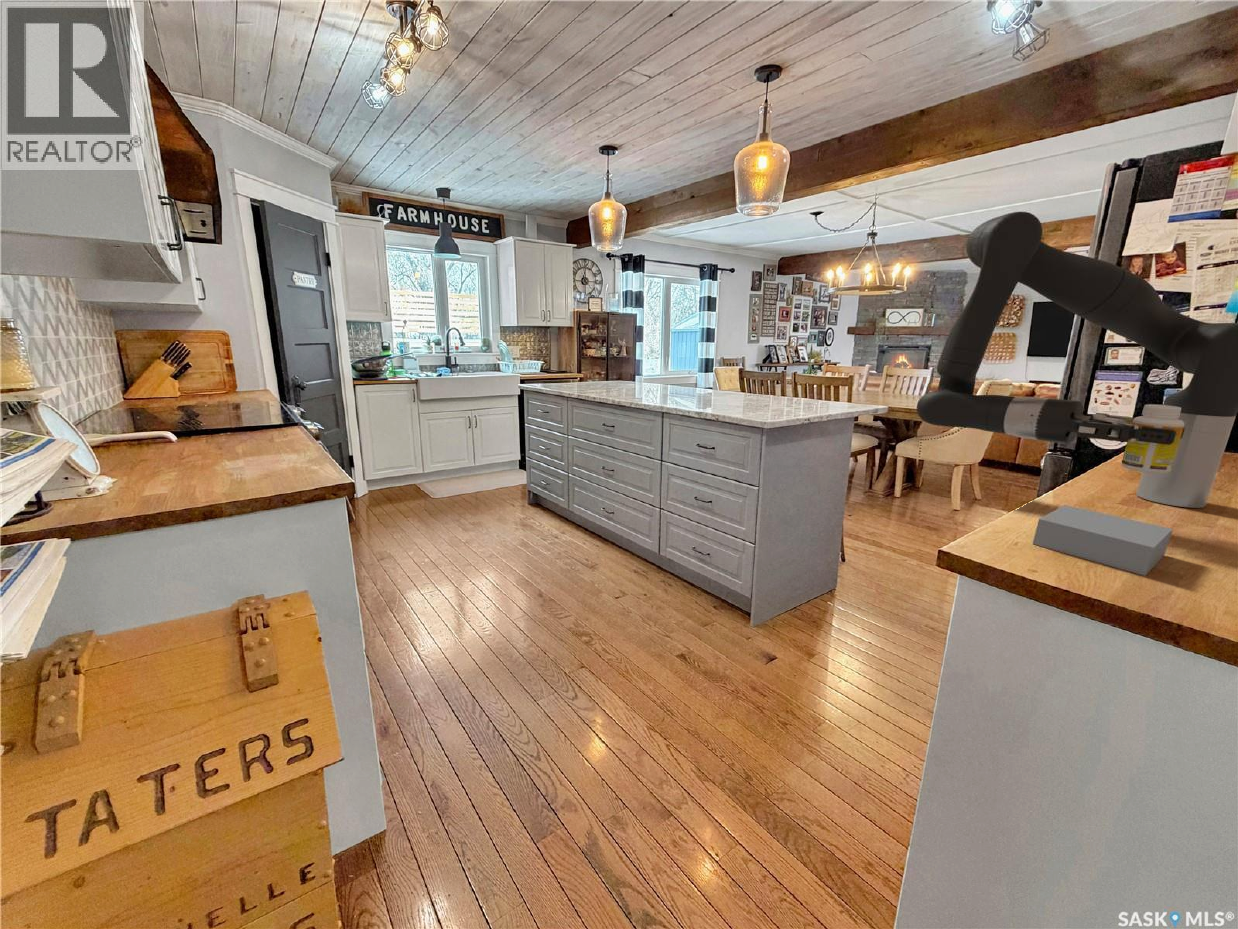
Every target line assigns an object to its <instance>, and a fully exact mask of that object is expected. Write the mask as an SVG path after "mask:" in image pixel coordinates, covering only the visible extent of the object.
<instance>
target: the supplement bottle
mask: <svg viewBox="0 0 1238 929" xmlns="http://www.w3.org/2000/svg"><path fill="white" fill-rule="evenodd" d="M1180 412H1181V408H1180V407H1176V406H1168V405H1163V404H1153V403H1151V404H1148V403H1147V404H1144V406H1143V409H1142V413H1141V416H1136V417H1133V418H1134V419H1133V422H1132V424H1137V425H1139V426H1141V427H1140V429H1141V428H1142V426H1144V427H1153V428H1162V429H1170V430H1175V431H1176V432H1177V434H1176V437H1175V440H1174V443H1172V444H1170V445H1166V444H1159V443H1151V442H1143V441H1138V439H1137V441H1133V442H1129V441H1128V442H1126V446H1125V449H1124V452H1123V456H1122V459H1121V466H1122V467H1123V468H1125V469H1127V470H1129V471H1134V472H1135V471H1136V472H1139V473H1143V472H1146V473H1157V474H1162V473H1168V472H1169V471H1170V470H1171V468H1172V464H1173V461H1174V458H1175V455H1176V451H1177V448H1178V445H1179V441H1180V438H1181V435H1182V431H1183V428H1184V422H1183V421H1181V420H1178V419H1177V418H1179V415H1180Z"/></svg>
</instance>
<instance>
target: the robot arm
mask: <svg viewBox="0 0 1238 929" xmlns="http://www.w3.org/2000/svg"><path fill="white" fill-rule="evenodd" d="M1042 239H1043V226H1042V223H1041V221H1040V219H1039V217H1037V216H1036V215H1034V214H1032V213H1030V212H1027V211H1014V212H1008V213H1005V214H1002V215H1000V216H997V217H993V218H991V219H989V220H986V221H984V222H982V223H981V224H980V225H978V226H976V227H975V228H974V230H972V231H971V233H970V234H969V235H968V238H967V240H966V246H965V248H966V249H965V250H966V254H967V257H968V258H969V261H971V262H970V263H972V264H973V265H975V266H976V267H977V268H979V269H980V270H979V275H978V277H977V278H978V279H977V281H976V283H975V285H974V289H973V291H972V293H971V295H970V297H969V299H968V301H967V303H966V304H965V306H964V308H963V309H962V311H960V312H961V313H960V314H959V315H958V317H957V319H956V320H955V322H954V323H953V326H952V327H951V329H950V331H949V333H948V335H947V338H946V340H945V343H944V345H943V349H942V350H941V354H940V356H939V359H938V362H937V367H936V372H937V374H938V375H939V376H940V378H939V382H938V387H937V389H936V390H932V391H929V392H926V393H925V394H923V395H922V396H921V397H920V399H919V400H918V401H917V404H916V413H917V415H918V417H919V418H920V419H921V420H922V421H923V422H924V423H927V424H929V425H932V426H938V427H939V426H941V427H948V428H949V427H951V428H961V429H962V428H963V429H965V428H966V429H973V430H974V429H975V430H981V431H985V432H991V433H997V434H1004V435H1008V436H1009V435H1010V436H1013V437H1018V438H1021V439H1022V438H1023V439H1030V440H1034V441H1035V440H1037V441H1041V442H1049V443H1055V444H1063V445H1069V444H1071V443H1073V441H1074V440H1075V439H1076V438H1078V437H1079V438H1081V439H1082V438H1087V439H1093V440H1095V439H1096V440H1104V441H1111V442H1120V443H1127V442H1128V441H1129V442H1133V441H1137V439H1138V441H1143V442H1151V443H1159V444H1166V445H1170V444H1172V443H1174V440H1175V437H1176V434H1177V432H1176V431H1175V430H1170V429H1162V428H1153V427H1144V426H1142V428H1141V429H1140V427H1141V426H1139V425H1137V424H1132V422H1133V419H1134V418H1135V417H1131V416H1126V415H1115V414H1114V415H1113V414H1109V413H1105V412H1103V413H1102V412H1095V413H1091V414H1090V415H1085V414H1084V405H1083V402H1081V401H1080V400H1073V399H1072V400H1070V399H1061V398H1060V399H1059V398H1050V397H1039V396H1038V397H1037V396H1013V395H1012V396H1011V395H1001V394H974V390H975V387H976V379H977V374H978V372H979V369H980V366H981V364H982V362H983V359H984V358H985V354H986V352H987V348H988V346H989V344H990V342H991V339H992V336H993V334H994V331H995V328H996V326H997V324H998V322H999V321H1000V318H1001V316H1002V313H1003V312H1004V310H1005V307H1006V305H1007V304H1008V302H1009V300H1010V298H1011V296H1012V294H1013V292H1014V291H1015V289H1016V287H1017V285H1018V283H1020V284H1022V285H1023V286H1026V287H1028V288H1030V289H1031V290H1033V291H1035V292H1036V293H1038V295H1042V296H1043V297H1044V298H1046V299H1048V300H1049V301H1051V302H1053V303H1055V304H1057V305H1058V306H1061V307H1062V308H1064V309H1066V310H1067V311H1069V312H1070V313H1073V314H1075V315H1076V316H1078V317H1080V318H1081V319H1084V320H1086V321H1088V322H1090V323H1091V324H1094V325H1097V326H1099V327H1101V328H1103V329H1105V330H1108V331H1110V332H1111V333H1113V334H1116V335H1118V336H1120V337H1123V338H1125V339H1127V340H1129V341H1132V342H1134V343H1136V344H1137V345H1140V346H1141V347H1143V348H1144V349H1145V350H1147V351H1149V352H1151V353H1152V354H1153V355H1155V357H1157V358H1159V359H1161V360H1162V361H1164V362H1165V363H1166V364H1168V365H1169V366H1171V367H1172V368H1174V369H1176V370H1177V371H1180V372H1182V373H1187V374H1192V377H1191V380H1190V382H1189V383H1188V385H1187V386H1186V387H1185V388H1184V389H1181V390H1180V391H1177V392H1174V393H1170V394H1168V395H1167V396H1166V397H1165V399H1164V401H1163V404H1162V405H1168V406H1176V407H1180V408H1181V412H1180V415H1179V418H1177V419H1178V420H1181V421H1183V422H1184V428H1183V431H1182V435H1181V438H1180V441H1179V445H1178V448H1177V451H1176V455H1175V458H1174V461H1173V464H1172V468H1171V470H1170V471H1169V472H1168V473H1162V474H1157V473H1146V472H1142V473H1141V477H1140V480H1139V483H1138V488H1137V490H1136V494H1135V495H1136V496H1137V497H1139V498H1141V499H1145V500H1148V501H1151V502H1154V503H1158V504H1163V505H1169V506H1174V507H1182V508H1183V507H1184V508H1191V509H1193V508H1194V509H1201V508H1205V507H1206V504H1207V502H1208V500H1209V499H1208V498H1209V497H1210V494H1211V491H1212V487H1213V485H1214V482H1215V478H1216V475H1217V473H1218V471H1219V467H1220V464H1221V461H1222V459H1223V455H1224V454H1225V450H1226V447H1227V444H1228V441H1229V438H1230V435H1231V431H1232V428H1233V426H1234V422H1235V420H1236V418H1237V417H1236V416H1237V414H1238V322H1216V323H1214V322H1213V323H1211V322H1204V321H1201V320H1198V319H1195V318H1193V317H1189V316H1187V315H1185V314H1182V313H1181V312H1179V311H1176V310H1174V309H1172V308H1170V307H1169V306H1168V305H1167V304H1165V303H1164V301H1163V300H1162V298H1161V296H1160V295H1159V294H1158V292H1157V290H1156V288H1154V286H1153V285H1152V284H1151V283H1149V281H1147V280H1146V279H1144V278H1142V277H1141V276H1139V275H1136V274H1135V273H1133V272H1132V271H1129V270H1127V269H1125V268H1123V267H1121V266H1118V265H1116V264H1114V263H1111V262H1108V261H1105V260H1101V259H1098V258H1094V257H1090V256H1087V255H1082V254H1077V253H1074V252H1069V251H1064V250H1061V249H1058V248H1055V247H1054V246H1051V245H1049V244H1047V243H1045V242H1043V241H1042Z"/></svg>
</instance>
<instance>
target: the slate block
mask: <svg viewBox="0 0 1238 929" xmlns="http://www.w3.org/2000/svg"><path fill="white" fill-rule="evenodd" d="M1173 530H1174V529H1173V528H1169V527H1165V526H1161V525H1156V524H1153V523H1147V522H1144V521H1139V520H1134V519H1130V518H1125V517H1121V516H1117V515H1111V514H1108V513H1104V512H1103V513H1102V512H1099V511H1093V510H1090V509H1085V508H1080V507H1076V506H1073V505H1072V506H1071V505H1067V504H1065V505H1062V506H1060V507H1059V508H1057V509H1054V510H1053V511H1051V512H1049V513H1047V514H1045V515H1044V516H1042V517H1040V518H1039V519H1038V522H1037V526H1036V528H1035V534H1034V538H1033V541H1032V545H1034V544H1035V546H1039V547H1042V548H1045V549H1048V550H1049V549H1050V550H1052V551H1056V552H1060V553H1063V554H1066V555H1071V556H1073V557H1076V558H1081V559H1084V560H1088V561H1091V562H1095V563H1098V564H1101V565H1104V566H1105V565H1106V566H1108V567H1112V568H1116V569H1118V570H1123V571H1126V572H1130V573H1134V574H1137V575H1140V576H1142V577H1143V576H1144V577H1146V575H1147V574H1149V572H1150V571H1151V570H1152V569H1153V568H1154V567H1155V566H1156V565H1157V564H1158V563H1159V561H1160V560H1161V559H1162V558H1163V557H1164V556H1165V554H1166V552H1167V549H1168V545H1169V543H1170V539H1171V536H1172V533H1173Z"/></svg>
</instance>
